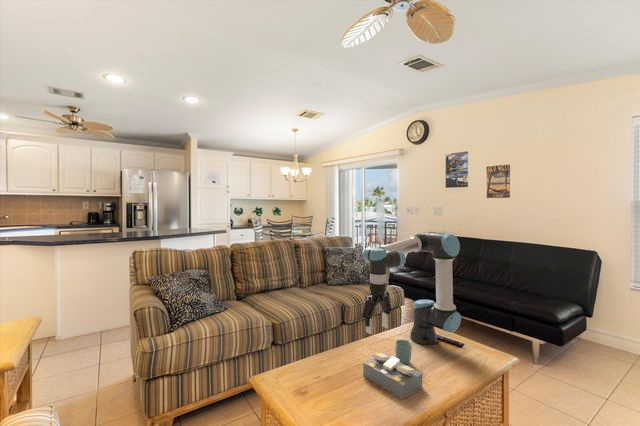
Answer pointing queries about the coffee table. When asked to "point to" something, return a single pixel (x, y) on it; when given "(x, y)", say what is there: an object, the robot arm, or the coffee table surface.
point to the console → (392, 378)
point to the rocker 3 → (405, 369)
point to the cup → (403, 351)
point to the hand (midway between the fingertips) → (376, 329)
